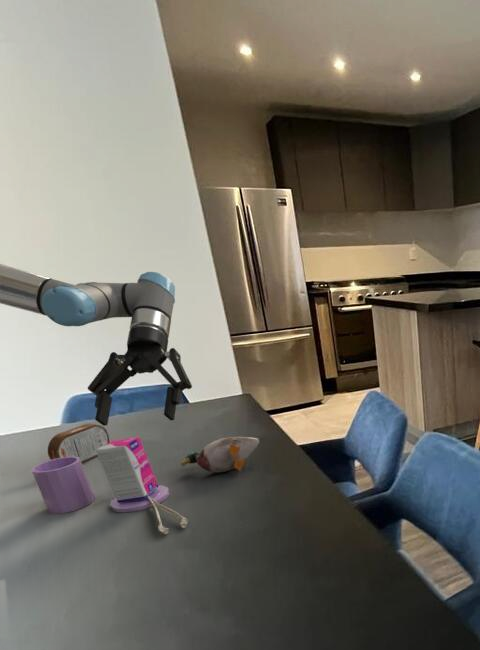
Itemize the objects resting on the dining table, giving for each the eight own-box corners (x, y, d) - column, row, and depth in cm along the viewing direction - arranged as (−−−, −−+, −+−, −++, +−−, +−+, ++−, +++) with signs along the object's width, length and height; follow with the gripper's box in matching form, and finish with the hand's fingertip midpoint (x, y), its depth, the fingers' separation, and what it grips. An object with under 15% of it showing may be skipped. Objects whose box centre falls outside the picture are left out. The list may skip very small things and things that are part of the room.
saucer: (107, 517, 94) (106, 513, 94) (115, 496, 103) (113, 492, 103) (168, 503, 98) (167, 499, 98) (170, 484, 107) (169, 480, 107)
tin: (106, 448, 131) (95, 418, 128) (116, 448, 131) (105, 418, 127) (53, 472, 118) (40, 439, 115) (64, 472, 117) (51, 439, 114)
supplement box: (146, 498, 98) (123, 445, 93) (117, 503, 97) (92, 450, 93) (160, 486, 103) (139, 435, 99) (132, 490, 103) (110, 440, 98)
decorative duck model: (168, 448, 109) (222, 425, 121) (180, 479, 112) (232, 453, 124) (212, 450, 102) (265, 425, 115) (224, 482, 105) (275, 454, 117)
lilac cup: (43, 517, 96) (25, 475, 92) (53, 501, 102) (37, 461, 99) (90, 507, 99) (75, 466, 95) (97, 492, 105) (82, 453, 102)
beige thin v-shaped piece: (190, 526, 89) (187, 516, 88) (162, 536, 86) (158, 527, 85) (162, 498, 101) (160, 489, 100) (137, 507, 98) (134, 498, 97)
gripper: (213, 341, 113) (205, 423, 105) (102, 348, 112) (84, 432, 104) (198, 320, 107) (188, 406, 98) (79, 328, 105) (59, 416, 97)
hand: (135, 420), depth 101 cm, fingers open, 13 cm apart
